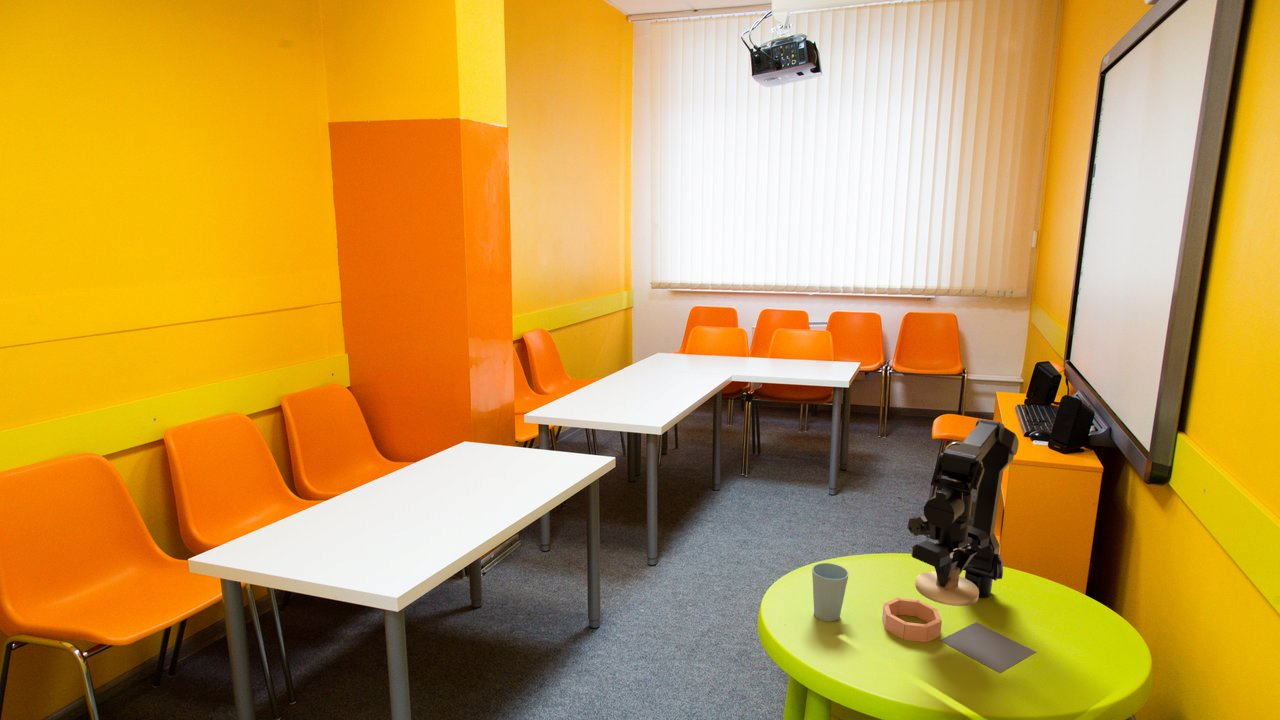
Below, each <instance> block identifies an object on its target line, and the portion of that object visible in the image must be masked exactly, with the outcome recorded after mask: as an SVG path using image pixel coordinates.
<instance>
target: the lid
mask: <svg viewBox="0 0 1280 720" xmlns="http://www.w3.org/2000/svg"><path fill="white" fill-rule="evenodd" d="M959 573H960V568H958V567H956V566H955V568H954V570H953V572H952V574H951V576H950V578H949V580H948V582H947V584H946V586H945V587H942V586H940V585H939V582H938V578H937V574H936V571H925V572H921V573H920V574H918V575H917V576H916V577H915V587H914V588H915V589H916V590H917V592H918V593H919V594H920V595H921V596H922V597H924V598H926V599H928V600H930V601H933V602H935V603H938V604H940V605H941V604H942V605H946V606H952V607H953V606H954V607H967V606H972V605H973V604H976V603H978V601H979V598H978V597H979V589H978V588H977V586H976V585H975V584H973V583H972V582H971V581H969V580H967V579H965V577H963V576H961V575H959Z"/></svg>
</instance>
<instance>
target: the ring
mask: <svg viewBox="0 0 1280 720" xmlns="http://www.w3.org/2000/svg"><path fill="white" fill-rule="evenodd" d="M882 605H883V606H882V616H881V618H882V623H883V627H884V630H885V631H888V632H890V633H891V634H892V635H895V636H896V637H898V638H899V639H902V640H903V641H905V640H906V641H912V642H913V641H914V642H921V643H928V642H930V641H933V640H934V639H936V638H938V637H940V636H941V631H942V622H943V621H942V617H941V614H940V612H939V610H938V609H937V608H935V607H934V606H931V605H929V604H928V603H926V602H923V601H921V600H920V599H913V598H912V599H911V598H902V597H896V598H893V599H891V600H888V601H886V602H884V603H883V604H882ZM898 615H900V616H909V617H916V618H918V619H920V620H922V621H924V622H926V623H918V622H917V623H916V622H907V621H905V620H903V619H901V618H899V617H897V616H898Z"/></svg>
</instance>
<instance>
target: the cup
mask: <svg viewBox="0 0 1280 720" xmlns="http://www.w3.org/2000/svg"><path fill="white" fill-rule="evenodd" d="M811 572H812V574H811V575H812V594H813V614H814V616H815V617H816V618H818V619H819V620H822V621H825V622H835V621H838V620H839V619H840V617H841V614H842V613H841V612H842V607H843V603H844V598H845V592H846V589H847V584H848V580H849V577H850V575H849V571H848V569H846V567H843V566H841V565H839V564H836V563H829V562H821V563H817V564H814V565H813V566H812V568H811Z"/></svg>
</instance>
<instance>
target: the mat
mask: <svg viewBox="0 0 1280 720" xmlns="http://www.w3.org/2000/svg"><path fill="white" fill-rule="evenodd" d="M939 641H940V642H941V643H943V644H945V645H947V646H948V647H950V648H952V649H954V650H956V651H957V652H960V653H962V654H964V655H965V656H968V657H969V658H971V659H973V660H975V661H977V662H978V663H980V664H982V665H983V666H985V667H987V668H989V669H991V670H993V671H995V672H996V673H999V674H1001V673H1003V672H1005V671H1006V670H1008V669H1010V668H1012V667H1014V666H1015V665H1017V664H1018V663H1020V662H1022V661H1023V660H1025V659H1027V658H1028V657H1031V656H1032V655H1034V654H1035V653H1037V651H1036V650H1033V649H1031V647H1030V648H1029V647H1028V646H1025V645H1023V644H1022V643H1019V642H1018V641H1015V640H1013V639H1011V638H1009V637H1008V636H1005V635H1004V634H1001V633H999V632H998V631H995V630H993V629H991V628H990V627H987V626H986V625H984V624H981V623H979V622H977V621H975V622H973V623H971V624H969V625H967V626H965V627H963V628H961V629H959V630H958V631H957V630H956V631H954V632H953V633H951V634H948V635H947V636H945V637H943V638H941V639H939Z"/></svg>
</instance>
